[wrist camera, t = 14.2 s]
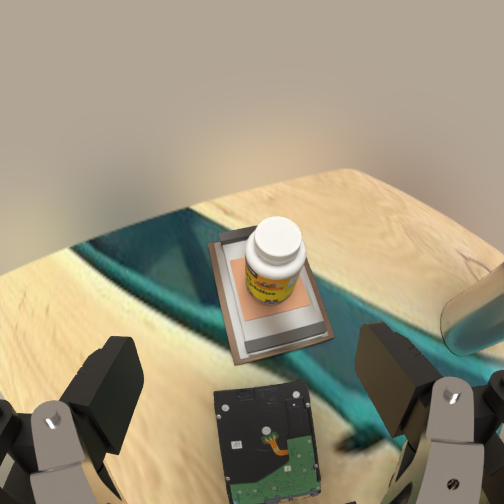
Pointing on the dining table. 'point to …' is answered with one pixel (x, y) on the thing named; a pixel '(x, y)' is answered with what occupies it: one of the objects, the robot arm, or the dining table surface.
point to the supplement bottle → (274, 260)
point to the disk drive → (267, 443)
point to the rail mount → (264, 306)
